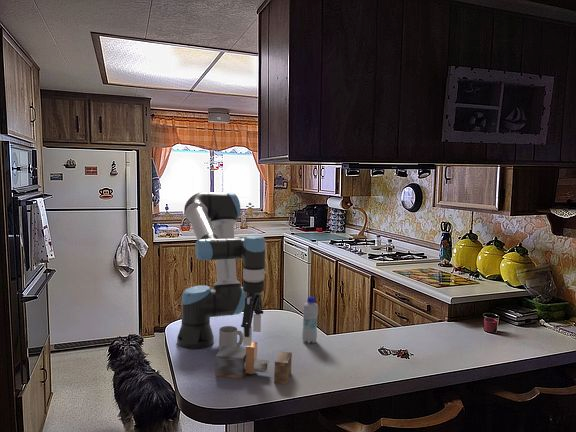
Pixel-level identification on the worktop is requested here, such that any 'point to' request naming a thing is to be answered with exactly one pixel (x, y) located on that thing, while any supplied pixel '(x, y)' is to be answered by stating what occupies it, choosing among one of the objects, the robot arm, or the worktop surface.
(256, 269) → the robot arm
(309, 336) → the bottle
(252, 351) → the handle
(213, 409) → the worktop surface
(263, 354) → the worktop surface
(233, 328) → the cup
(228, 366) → the sleeve and socket
